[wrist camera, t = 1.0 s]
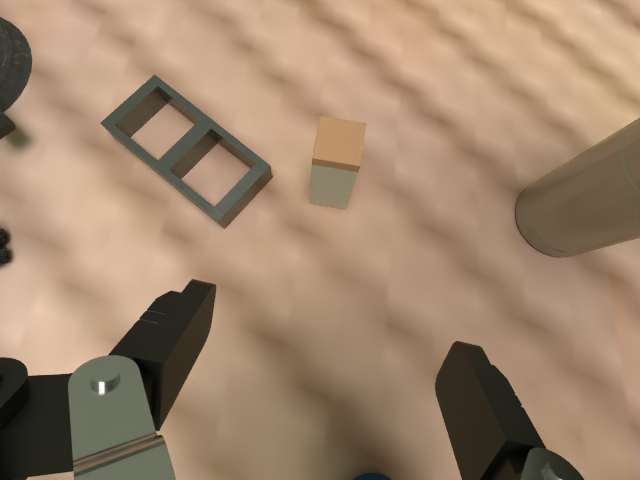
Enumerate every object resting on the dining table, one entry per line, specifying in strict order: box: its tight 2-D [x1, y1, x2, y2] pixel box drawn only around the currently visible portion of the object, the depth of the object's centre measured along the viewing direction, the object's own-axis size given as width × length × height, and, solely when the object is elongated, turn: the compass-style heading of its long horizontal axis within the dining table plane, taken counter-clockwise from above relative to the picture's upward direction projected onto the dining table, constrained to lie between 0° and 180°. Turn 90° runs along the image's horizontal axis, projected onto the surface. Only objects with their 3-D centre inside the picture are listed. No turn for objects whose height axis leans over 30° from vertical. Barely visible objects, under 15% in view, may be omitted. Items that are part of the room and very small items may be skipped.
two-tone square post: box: [310, 116, 366, 209], centre depth 35 cm, size 4×4×11 cm
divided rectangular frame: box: [100, 75, 273, 229], centre depth 39 cm, size 8×17×3 cm, turn 51°
